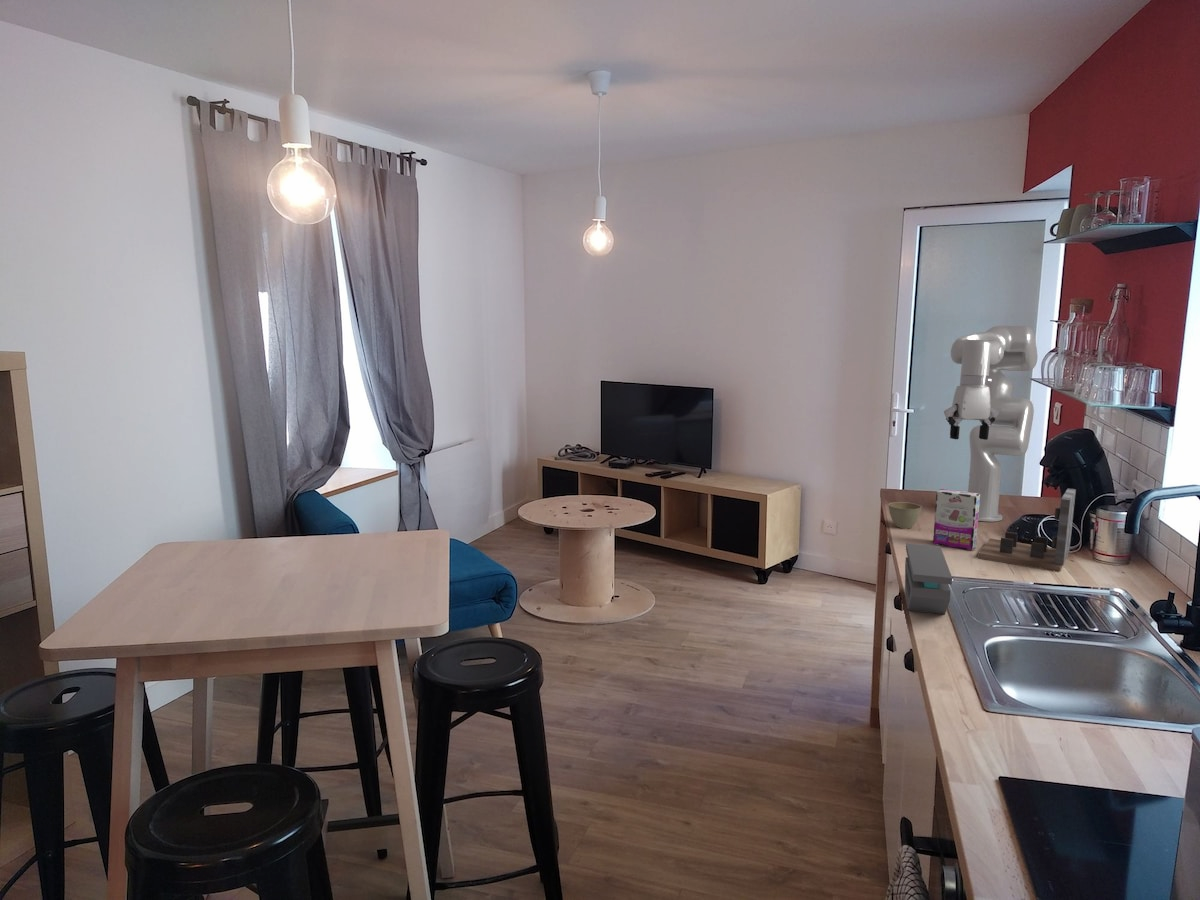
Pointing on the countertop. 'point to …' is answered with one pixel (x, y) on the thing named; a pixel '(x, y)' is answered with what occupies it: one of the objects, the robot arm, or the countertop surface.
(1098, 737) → the countertop surface
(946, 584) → the grey lidded box
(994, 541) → the wooden bookend
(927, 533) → the countertop surface
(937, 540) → the candy bar box
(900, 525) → the flower pot
